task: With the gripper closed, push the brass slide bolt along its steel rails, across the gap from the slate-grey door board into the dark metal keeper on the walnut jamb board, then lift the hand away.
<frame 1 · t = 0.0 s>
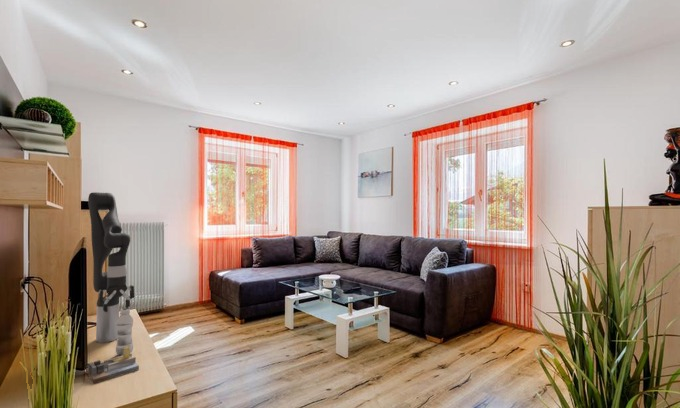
hand: (116, 309, 158), 17 cm above the table, tool pointing down, fingers open, 8 cm apart
lock board: (111, 370, 135), on the table
plastic bottle: (124, 354, 150), on the table
bolt: (122, 355, 138), point 5 cm above the table, slide at 0.0 cm
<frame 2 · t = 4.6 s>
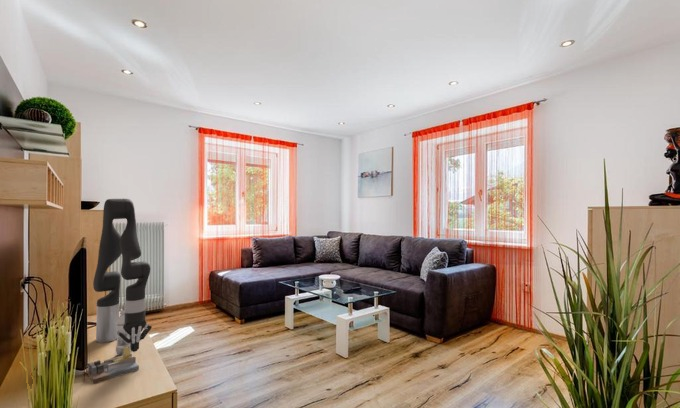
hand: (134, 351, 141), 5 cm above the table, tool pointing down, fingers closed
bolt: (122, 355, 138), point 5 cm above the table, slide at 0.0 cm, touching gripper
everything else where it was.
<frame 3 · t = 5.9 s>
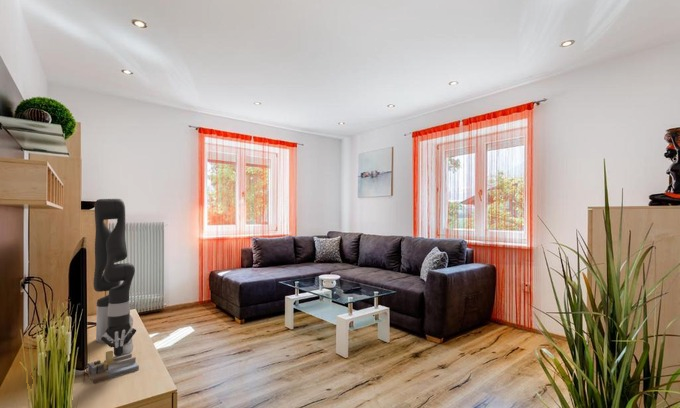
hand: (118, 355, 136), 5 cm above the table, tool pointing down, fingers closed
bolt: (104, 360, 133), point 5 cm above the table, slide at 6.0 cm, touching gripper
everything else where it was.
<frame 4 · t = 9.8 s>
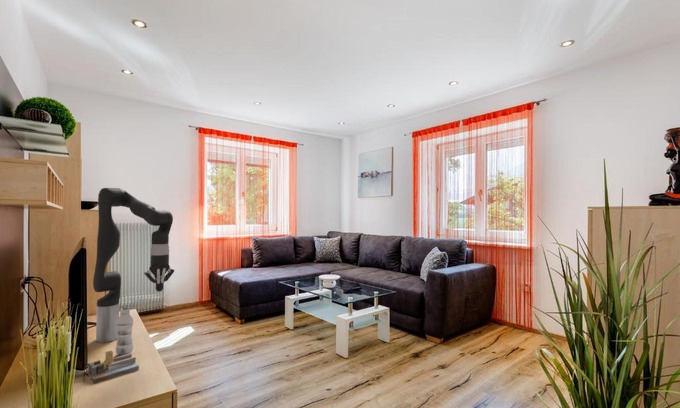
hand: (159, 291, 155), 27 cm above the table, tool pointing down, fingers closed
bolt: (104, 360, 133), point 5 cm above the table, slide at 6.0 cm
everything else where it was.
at the end: bolt slide at 6.0 cm; plastic bottle moved 0.2 cm from its start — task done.
